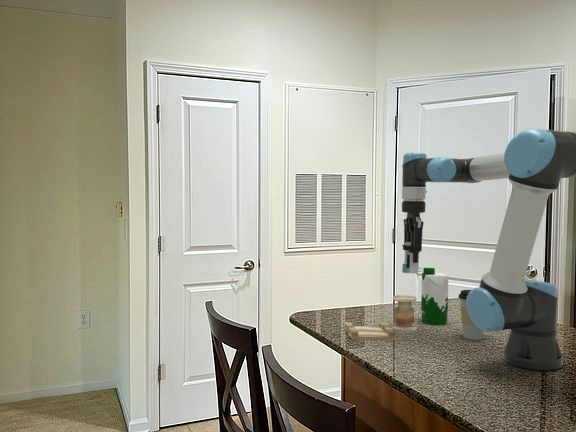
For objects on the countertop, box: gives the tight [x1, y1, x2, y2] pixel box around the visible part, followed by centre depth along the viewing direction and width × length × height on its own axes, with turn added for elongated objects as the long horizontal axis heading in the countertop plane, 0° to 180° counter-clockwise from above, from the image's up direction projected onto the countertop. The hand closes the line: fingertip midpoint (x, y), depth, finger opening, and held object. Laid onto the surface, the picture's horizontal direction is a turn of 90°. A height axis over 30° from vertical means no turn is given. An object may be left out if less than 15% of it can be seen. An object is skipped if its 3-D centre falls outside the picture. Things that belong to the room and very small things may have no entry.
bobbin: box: [390, 294, 418, 332], centre depth 190 cm, size 9×9×11 cm
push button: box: [402, 242, 423, 274], centre depth 181 cm, size 7×5×10 cm
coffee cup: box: [457, 289, 484, 341], centre depth 179 cm, size 9×9×15 cm
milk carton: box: [420, 267, 449, 326], centre depth 198 cm, size 9×9×20 cm
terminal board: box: [344, 321, 397, 341], centre depth 182 cm, size 14×14×3 cm
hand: (412, 271), depth 181 cm, fingers closed on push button, 3 cm apart
